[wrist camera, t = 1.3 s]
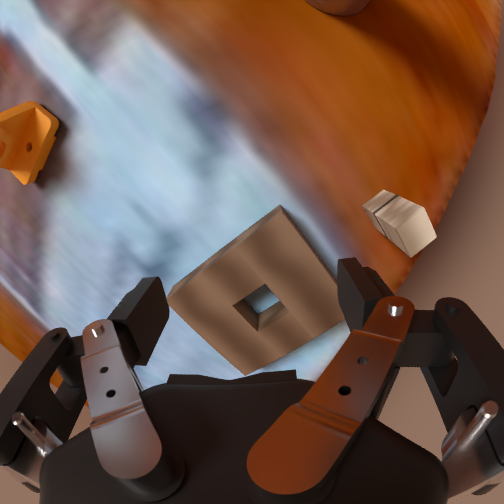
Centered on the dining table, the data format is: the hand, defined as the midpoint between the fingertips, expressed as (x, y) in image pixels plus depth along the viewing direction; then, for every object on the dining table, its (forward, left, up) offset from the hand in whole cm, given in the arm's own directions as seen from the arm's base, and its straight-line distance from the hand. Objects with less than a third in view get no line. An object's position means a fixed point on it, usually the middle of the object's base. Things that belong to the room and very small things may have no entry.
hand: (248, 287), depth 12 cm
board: (+7, +10, -22) cm, 25 cm away
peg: (-12, +10, -22) cm, 27 cm away
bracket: (+19, -29, -22) cm, 41 cm away
